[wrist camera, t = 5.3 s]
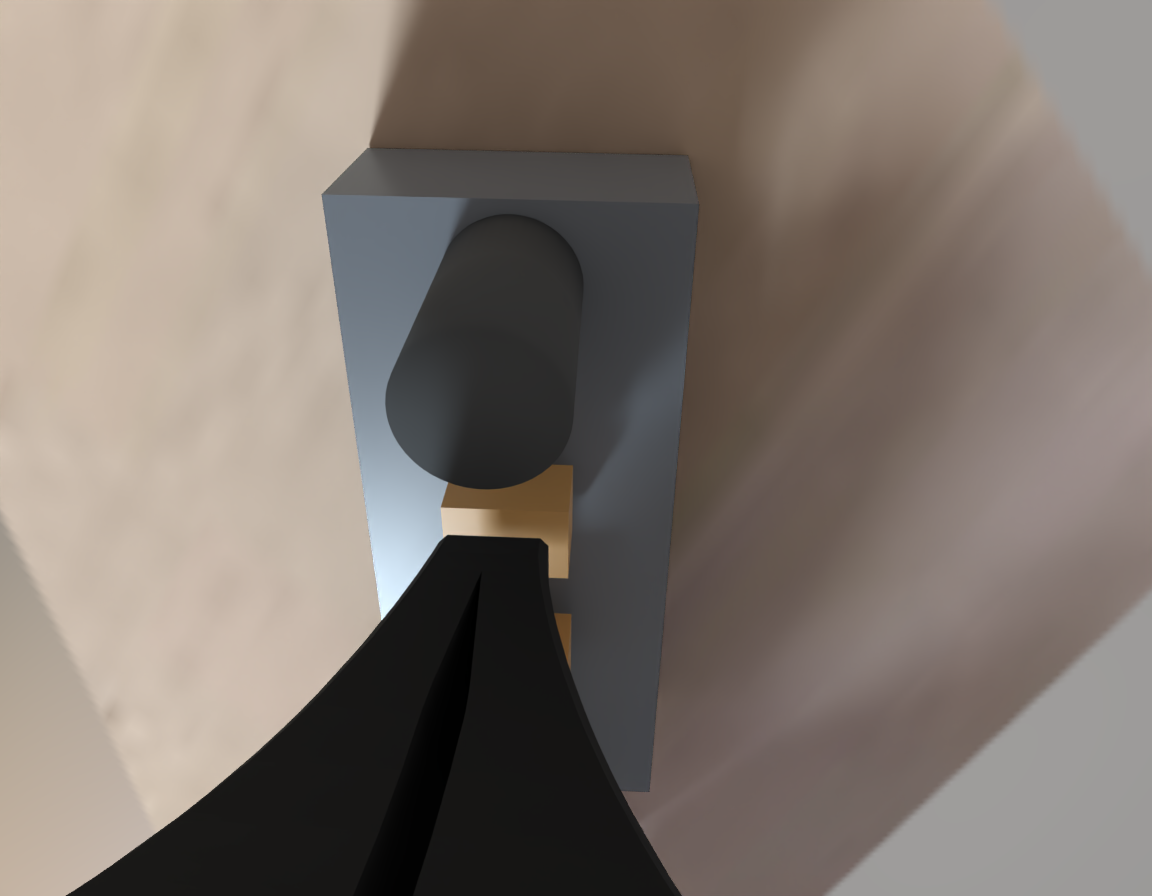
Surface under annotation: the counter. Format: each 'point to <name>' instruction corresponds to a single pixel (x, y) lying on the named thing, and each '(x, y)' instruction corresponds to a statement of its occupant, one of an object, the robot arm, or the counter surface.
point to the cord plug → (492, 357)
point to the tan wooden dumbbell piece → (520, 520)
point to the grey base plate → (602, 399)
